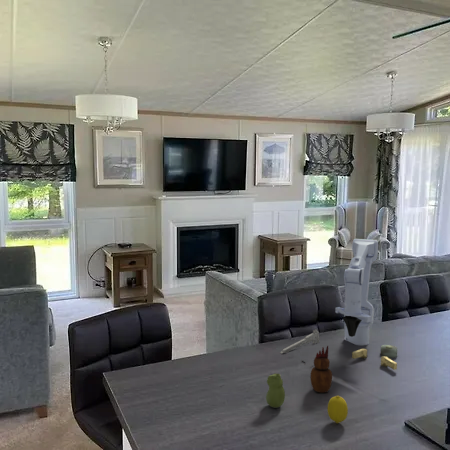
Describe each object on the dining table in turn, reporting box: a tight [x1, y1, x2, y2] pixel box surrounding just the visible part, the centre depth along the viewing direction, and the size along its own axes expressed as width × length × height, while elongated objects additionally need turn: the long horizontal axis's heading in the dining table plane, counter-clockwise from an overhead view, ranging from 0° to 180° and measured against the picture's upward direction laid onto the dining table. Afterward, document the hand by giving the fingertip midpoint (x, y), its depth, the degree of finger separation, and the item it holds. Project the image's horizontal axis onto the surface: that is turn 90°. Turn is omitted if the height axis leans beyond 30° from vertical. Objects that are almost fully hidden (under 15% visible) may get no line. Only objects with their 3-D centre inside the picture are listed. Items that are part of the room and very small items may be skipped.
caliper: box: [280, 328, 320, 355], centre depth 180 cm, size 21×1×6 cm, turn 124°
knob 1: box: [351, 347, 368, 360], centre depth 166 cm, size 2×7×3 cm, turn 126°
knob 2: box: [380, 355, 398, 371], centre depth 158 cm, size 2×7×3 cm, turn 17°
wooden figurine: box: [310, 345, 333, 394], centre depth 143 cm, size 7×6×15 cm
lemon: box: [327, 395, 349, 424], centre depth 125 cm, size 6×6×8 cm
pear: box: [265, 373, 286, 409], centre depth 134 cm, size 6×5×10 cm
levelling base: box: [380, 344, 398, 359], centre depth 167 cm, size 14×20×5 cm
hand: (351, 335), depth 167 cm, fingers closed
